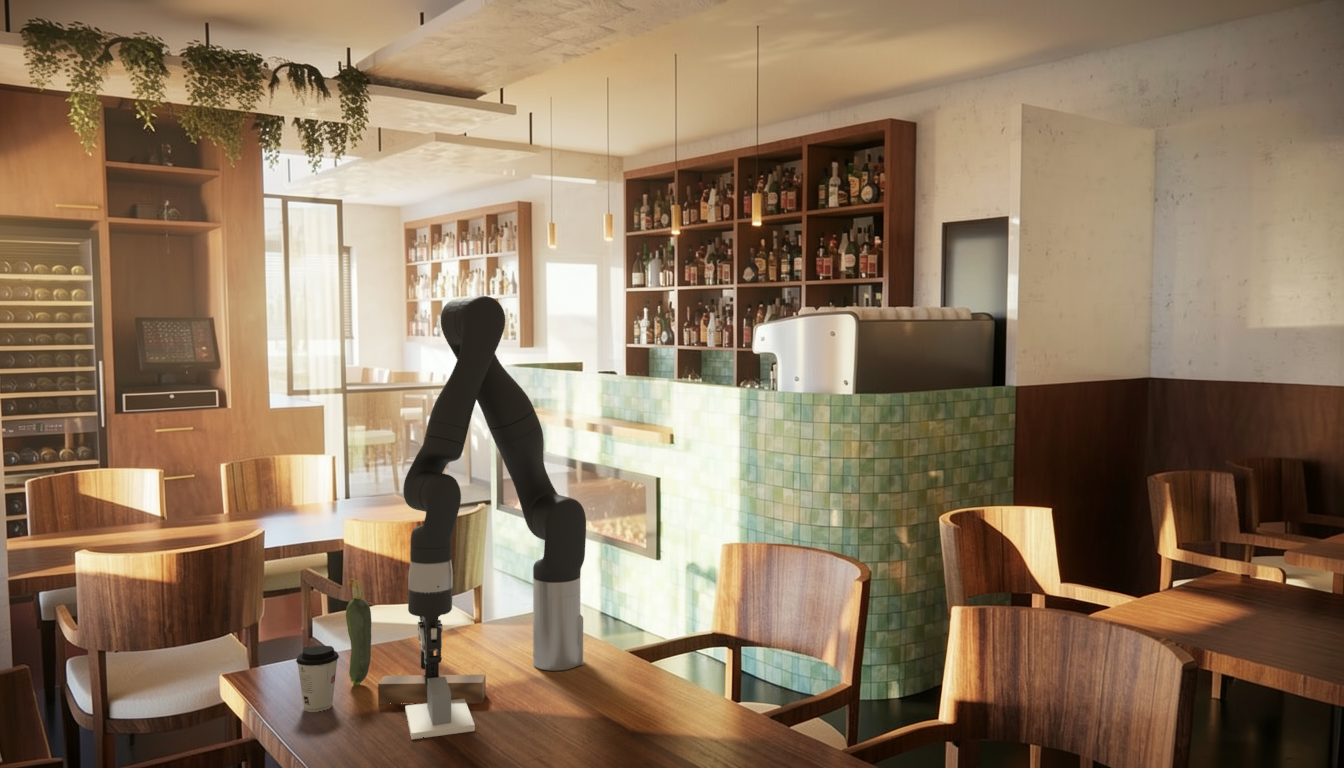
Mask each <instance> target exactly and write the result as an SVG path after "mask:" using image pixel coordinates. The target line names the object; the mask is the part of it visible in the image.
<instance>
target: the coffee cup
mask: <svg viewBox="0 0 1344 768" xmlns="http://www.w3.org/2000/svg"><path fill="white" fill-rule="evenodd" d="M339 658H340V655H339V653H338V652H337V650H335V648H334V647H333V646H332V645H315V646H310V647H307V648H305V649H303V650H302V653H300V654H299V655H297V658H296V660H295V662H296V663H297V668H298V676H299V681H300V682H299V684H300V689H301V695H302V704H303V710H304V711H305V712H308V713H320V712H319V711H321V712H324V711H323V710H325V711H327V710H326V709H328V710H329V708H330V707H331V706H332V707H333V704H334V703H333V702H334V701H333V700H334V694H335V693H334V692H335V683H336V677H337V676H336V674H337V666H338V659H339ZM332 707H331V708H332ZM331 708H330V709H331Z"/></svg>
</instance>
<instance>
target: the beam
mask: <svg viewBox="0 0 1344 768" xmlns="http://www.w3.org/2000/svg"><path fill="white" fill-rule="evenodd" d="M439 677H446V680H447V683H448V686H449V688H450V691H451V700H456V699H464V698H465V701H466V704H467V705H468V704H483V702H484V700H485V698H486V694H487V692H486V690H487V689H486V688H487V687H486V681H487V679H486V674H483V673H482V674H439ZM390 703H391V704H401V703H402V704H401V705H404V704H403V703H427V685H426V683H425V674H423V675H421V674H420V675H419V674H417V675H414V674H413V675H411V674H410V675H405V674H404V675H383V676H382V677H381V678H380V680H379V682H378V683H377V704H390Z"/></svg>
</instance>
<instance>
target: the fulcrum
mask: <svg viewBox="0 0 1344 768" xmlns="http://www.w3.org/2000/svg"><path fill="white" fill-rule="evenodd" d="M404 708H405V710H404V711H405V717H406V716H407V717H406V722H407V721H408V722H407V725H408V726H407V727H408V732H409V735H410V738H411V740H418V739H425V738H432V737H439V736H447V735H455V734H462V733H470V732H475V730H476V729H475V728H476V727H475V722H474V719H473V717H472V714H471V711H470V709H469V707H468V703H467V704H466V701H465V698H464V699H456V700H451V691H450V688H449V686H448V683H447V680H446V677H437V678H428V679H427V703H423V704H406V705H405V707H404ZM423 737H424V738H423Z"/></svg>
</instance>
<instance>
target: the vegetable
mask: <svg viewBox="0 0 1344 768" xmlns="http://www.w3.org/2000/svg"><path fill="white" fill-rule="evenodd" d="M351 585H352V587H351ZM347 587H348V588H350V587H351V591H352V592H351V594H352V596H351V597H352V598H353V599H351V600H350V601H349V602H348V604H347V605H346V610H345V619H346V621H345V622H346V627H347V633H348V637H349V641H350V659H349V670H348V671H349V673H348V674H349V677H350V682H352V685H355V686H359V685H360V684H362V683H363V681H364V680H365V679H366V678H367V676H368V674H369V669H370V663H371V658H372V657H371V655H372V649H371V648H372V611H371V607H370V603H368V601H367V600H366V599H364V595H365V594H364V591H363V589H362V588H361V585H360V583H359V581H358V580H356V579H354V578H349V580H348V581H347Z"/></svg>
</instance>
